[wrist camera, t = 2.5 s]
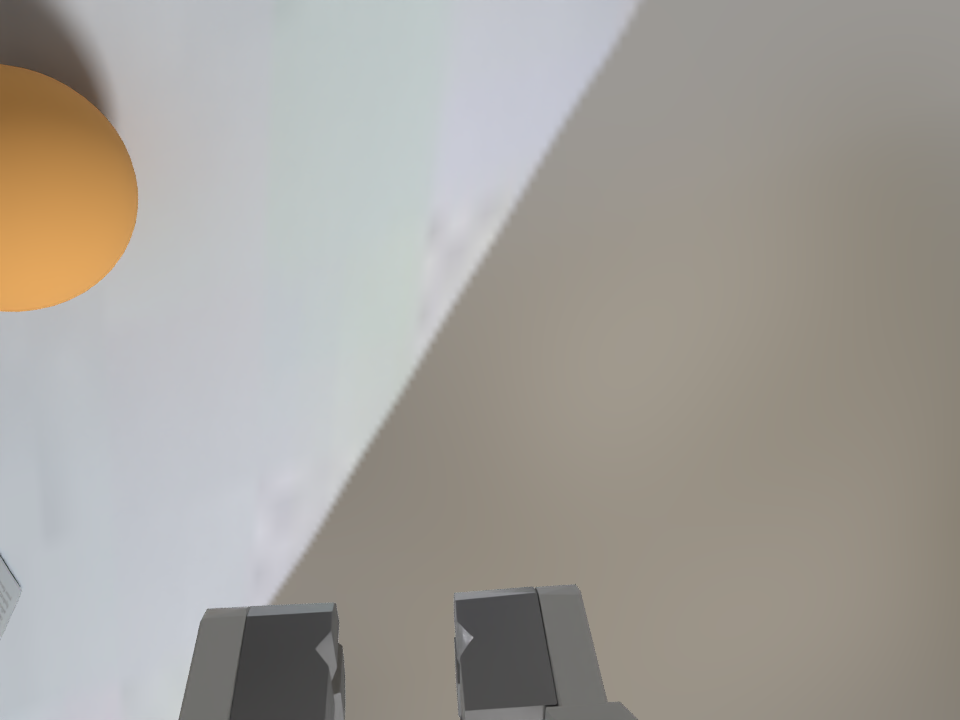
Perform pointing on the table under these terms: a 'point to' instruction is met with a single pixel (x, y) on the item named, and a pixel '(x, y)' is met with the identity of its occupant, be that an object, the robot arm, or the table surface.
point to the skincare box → (7, 595)
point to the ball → (58, 192)
